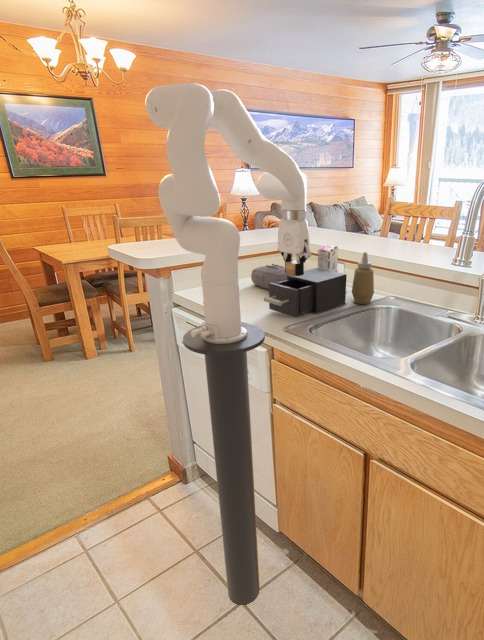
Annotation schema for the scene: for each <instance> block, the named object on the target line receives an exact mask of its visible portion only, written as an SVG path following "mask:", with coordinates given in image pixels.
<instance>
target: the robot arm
mask: <svg viewBox="0 0 484 640" xmlns="http://www.w3.org/2000/svg"><path fill="white" fill-rule="evenodd" d="M144 102H145V104H144V105H145V111H146V113H147V114H146V115H147V116H148V118H149V119H150V121H151V122H152V123H153V124H154V125H155V126H157V127H159V128H161V129H164V130H168V133H167V135H166V141H165V142H166V143H165V155H166V160H167V163H168V165H169V169H170V172H171V173H169V174H167V175H165V176H164V177H163V178H162V179H161V181H160V182H159V185H158V191H157V193H158V194H157V195H158V201H159V204H160V205H159V206H160V208H161V209H162V212H163V214H164V216H165V219H166V221H167V223H168V225H169V227H170V230H171V232H172V234H173V236H174V238H175V240H176V242H177V243H178V245H179V246H180V248H182V249H183V250H185V251H187V252H189V253H193V254H199V255H203V256H205V258H204V260H203V263H202V266H201V270H200V279H201V280H200V281H201V288H202V298H203V309H204V320H205V321H203V322H202V323H201V324H202V325H200V326H201V327H200V328H199V329H195V330H191V329H190V330H191V336H192V337H197V336H200V335H201V338H202V339H203V340H204V341H206V342H209V343H214V344H228V343H234V342H238V341H240V340H242V339H244V338H245V337H246V336H247V330H246V329H245V328H244V327H242V326H241V323H242V317H241V301H240V300H241V299H240V283H239V251H240V245H241V235H240V231H239V228H237V226H236V225H235V224H234V223H233V222H232V221H230V220H228V219H225V218H221V217H215V216H214V215H216V214H217V213H218V212H219V211H220V209H221V204H222V203H221V201H222V200H221V195H220V192H219V188H218V185H217V183H216V180H215V178H214V175H213V171H212V169H211V166H210V164H209V160H208V157H207V153H206V145H205V143H206V136H207V132H209V131H217V133H219V134H220V136H221V137H222V139H224V141H225V142H226V144H227V145H228V146H229V147H230V149H231V150H232V152H233V153H234V154H235V155H236V157H237V158H238V160H240V161H241V162H243V163H245V164H247V165H248V166H251V167H253V168H256V169H259V170H261V171H264V173H261V175H259V177H258V179H257V183H256V189H257V191H258V193H259V194H260V195H261V196H262V198H265V199H267V200H275V201H281V203H280V204H281V210H280V215H281V218H280V219H279V223H278V233H277V251H278V252H279V254H280V255H281V257H282V259H283V261H284V267H285V273H286V262H289V261H293V260H294V259H292V258H293V255H295V258H296V261H297V264H296V276H300V275H303V274H304V271H305V270H304V269H305V263H306V261H307V260H308V259H310V257H312V255H313V253H312V251H311V249H310V231H309V224H308V220H307V177H306V174H305V173H304V172H302V171H301V169H300V168H299V165H298V164H297V163H296V161H295V160H294V159H293V157H292V156H290V155H289V153H287V152H286V151H284V150H283V149H282V148H280V146H278V145H276V144H275V143H273V142H272V141H271V140H268V139H267V138H266V136H264V134H263V133H262V132H261V129H259V127H258V126H257V125H256V123H255V121H254V119H253V118H252V117H251V114H250V113H249V112H248V110H247V109H246V107H245V105H244V104H243V102H242V101H241V99H240V98H239V96H238V95H237V94H236V93H235V92H233V91H231V90H229V89H211V90H209V89H208V88H207V87H206V86H205V85H204V84H203V85H202V84H200V83H195V82H184V83H175V84H165V85H158V86H155V87H153V88H151V89H150V90H149V91H148V93H147V94H146V97H145V100H144Z"/></svg>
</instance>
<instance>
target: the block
mask: <svg viewBox="0 0 484 640" xmlns="http://www.w3.org/2000/svg"><path fill="white" fill-rule="evenodd" d="M292 260H293V261H289V262H286V274H287V275H291V276H296V264H297V260H294V259H292Z"/></svg>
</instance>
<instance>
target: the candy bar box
mask: <svg viewBox="0 0 484 640" xmlns="http://www.w3.org/2000/svg"><path fill="white" fill-rule="evenodd" d="M338 256H339V246H338V245H330V244H327V245H325V246H323V247H321V248H320V249H318V250H317V268H320V269H325V270H329V271H334V272H338V259H339V258H338Z"/></svg>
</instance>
